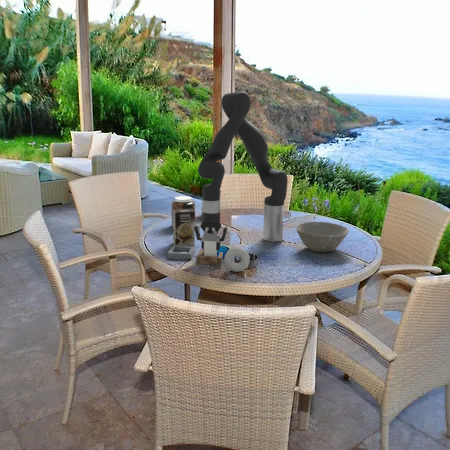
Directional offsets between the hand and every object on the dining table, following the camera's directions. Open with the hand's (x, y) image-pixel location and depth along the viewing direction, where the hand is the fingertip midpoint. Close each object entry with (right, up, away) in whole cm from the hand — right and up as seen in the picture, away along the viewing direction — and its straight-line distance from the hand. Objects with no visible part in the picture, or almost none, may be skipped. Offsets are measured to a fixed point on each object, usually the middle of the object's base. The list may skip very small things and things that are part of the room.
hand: (210, 249), depth 206 cm
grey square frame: (-13, -3, +6) cm, 14 cm away
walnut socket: (0, -4, +1) cm, 5 cm away
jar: (-15, +9, +49) cm, 53 cm away
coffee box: (-13, +1, +21) cm, 25 cm away
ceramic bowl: (+49, -1, +17) cm, 52 cm away
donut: (+11, -8, -11) cm, 17 cm away
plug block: (0, -4, +1) cm, 4 cm away
